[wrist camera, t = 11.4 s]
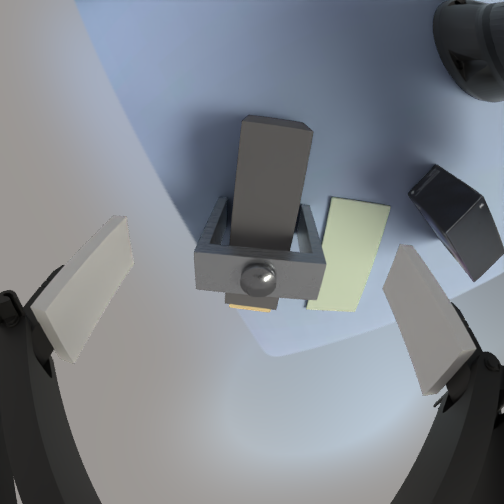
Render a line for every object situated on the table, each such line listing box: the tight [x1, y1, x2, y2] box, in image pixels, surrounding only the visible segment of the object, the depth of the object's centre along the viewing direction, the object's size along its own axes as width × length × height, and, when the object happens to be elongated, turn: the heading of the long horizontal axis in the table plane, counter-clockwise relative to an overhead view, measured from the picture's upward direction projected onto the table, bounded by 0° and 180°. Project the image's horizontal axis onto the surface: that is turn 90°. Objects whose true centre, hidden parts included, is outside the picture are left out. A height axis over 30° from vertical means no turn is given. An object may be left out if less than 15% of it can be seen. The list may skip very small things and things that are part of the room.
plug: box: [225, 115, 313, 312], centre depth 30 cm, size 22×6×8 cm, turn 173°
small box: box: [408, 165, 504, 282], centre depth 27 cm, size 11×6×10 cm, turn 52°
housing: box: [194, 197, 327, 300], centre depth 29 cm, size 4×11×13 cm, turn 86°
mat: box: [306, 197, 391, 312], centre depth 37 cm, size 18×8×1 cm, turn 176°
